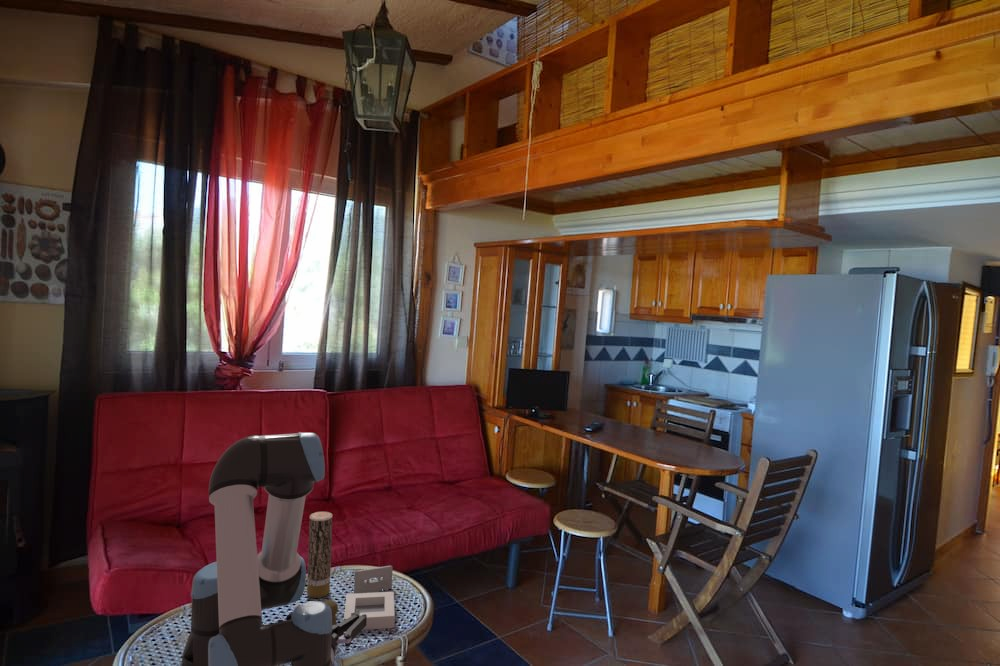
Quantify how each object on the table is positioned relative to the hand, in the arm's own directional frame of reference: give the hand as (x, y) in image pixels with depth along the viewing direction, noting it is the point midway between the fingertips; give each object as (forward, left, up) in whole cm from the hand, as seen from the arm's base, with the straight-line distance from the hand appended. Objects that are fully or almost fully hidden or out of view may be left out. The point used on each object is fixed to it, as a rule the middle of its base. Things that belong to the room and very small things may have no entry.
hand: (326, 606), depth 145 cm
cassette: (+11, +37, -16) cm, 42 cm away
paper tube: (-5, +38, -16) cm, 41 cm away
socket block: (+11, +23, -16) cm, 29 cm away
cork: (0, +11, -16) cm, 19 cm away
